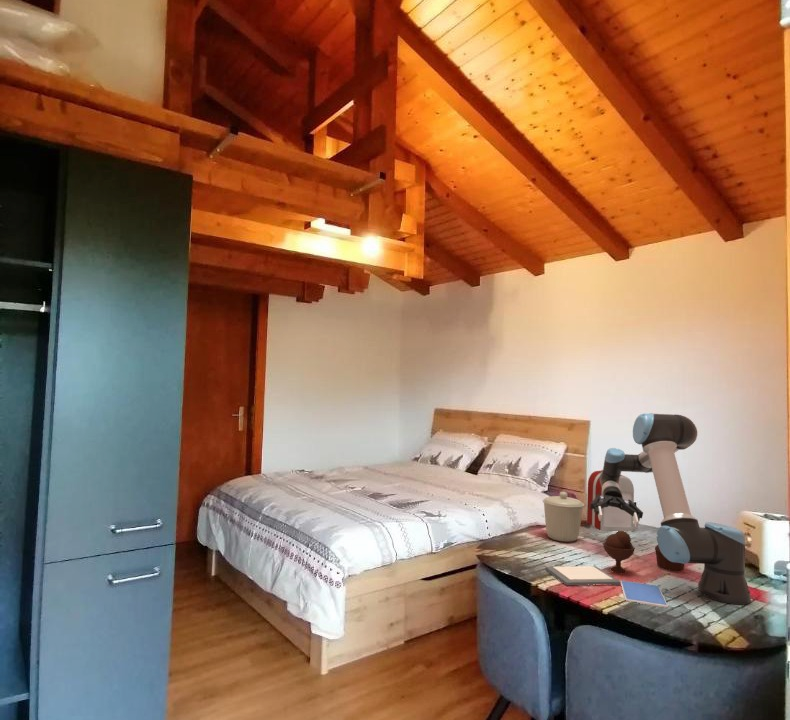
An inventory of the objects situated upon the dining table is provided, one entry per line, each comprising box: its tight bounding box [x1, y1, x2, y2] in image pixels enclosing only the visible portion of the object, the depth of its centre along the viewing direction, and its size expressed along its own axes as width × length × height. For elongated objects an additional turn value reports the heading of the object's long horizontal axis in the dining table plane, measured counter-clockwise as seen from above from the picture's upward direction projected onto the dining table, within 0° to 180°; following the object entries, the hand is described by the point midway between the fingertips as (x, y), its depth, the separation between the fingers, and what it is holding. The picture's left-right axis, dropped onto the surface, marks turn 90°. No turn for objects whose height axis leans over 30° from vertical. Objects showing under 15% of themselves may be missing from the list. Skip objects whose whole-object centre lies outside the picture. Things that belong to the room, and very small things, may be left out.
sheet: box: [552, 565, 613, 581], centre depth 193 cm, size 13×16×1 cm
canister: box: [542, 491, 585, 543], centre depth 244 cm, size 18×18×21 cm
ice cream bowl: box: [602, 531, 636, 574], centre depth 203 cm, size 11×11×15 cm
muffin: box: [654, 544, 685, 572], centre depth 209 cm, size 12×11×10 cm
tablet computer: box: [619, 580, 669, 608], centre depth 180 cm, size 19×13×1 cm, turn 162°
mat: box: [545, 565, 621, 586], centre depth 193 cm, size 16×20×1 cm
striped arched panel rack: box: [586, 469, 635, 532], centre depth 271 cm, size 16×18×27 cm
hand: (618, 521), depth 213 cm, fingers open, 13 cm apart
